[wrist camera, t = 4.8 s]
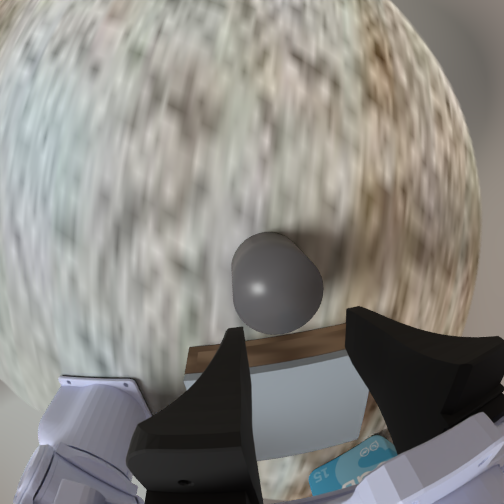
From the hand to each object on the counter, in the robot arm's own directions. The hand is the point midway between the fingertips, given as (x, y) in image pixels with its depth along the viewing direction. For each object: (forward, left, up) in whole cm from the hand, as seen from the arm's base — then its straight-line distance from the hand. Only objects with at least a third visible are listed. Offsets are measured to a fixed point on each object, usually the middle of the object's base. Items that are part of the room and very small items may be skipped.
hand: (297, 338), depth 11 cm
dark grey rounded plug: (0, 0, -10) cm, 10 cm away
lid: (0, -12, -6) cm, 13 cm away
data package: (+9, -30, -10) cm, 33 cm away
